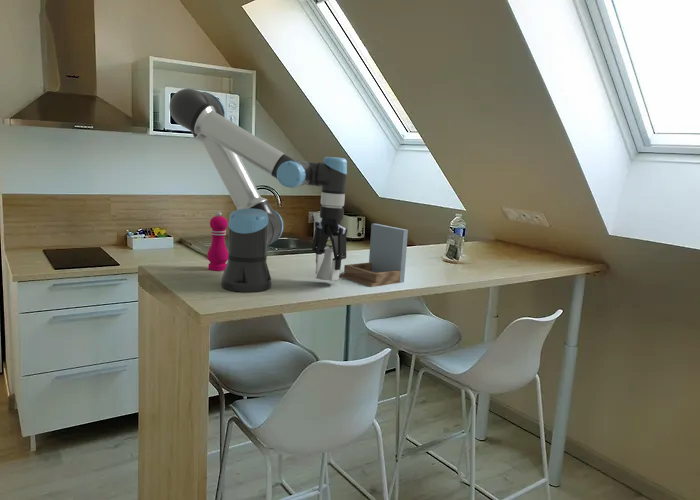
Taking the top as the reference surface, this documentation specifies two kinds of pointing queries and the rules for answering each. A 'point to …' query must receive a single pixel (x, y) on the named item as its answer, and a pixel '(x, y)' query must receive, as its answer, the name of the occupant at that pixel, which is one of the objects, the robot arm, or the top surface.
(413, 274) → the top surface
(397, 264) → the wall board
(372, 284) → the wooden tray
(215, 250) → the pepper mill
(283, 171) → the robot arm
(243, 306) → the top surface
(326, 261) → the flask
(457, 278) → the top surface
